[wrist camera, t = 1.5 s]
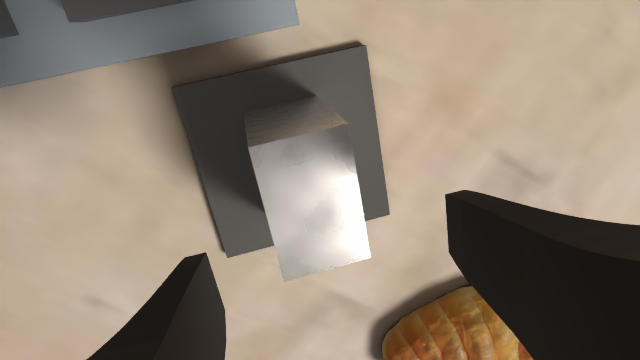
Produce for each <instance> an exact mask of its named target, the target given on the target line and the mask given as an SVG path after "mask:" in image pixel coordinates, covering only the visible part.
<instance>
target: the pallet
mask: <svg viewBox="0 0 640 360" xmlns="http://www.w3.org/2000/svg"><path fill="white" fill-rule="evenodd" d="M296 25H300V24H299V19H298V14H297V9H296V4H295V0H0V88H1V87H5V86H10V85H15V84H20V83H25V82H29V81H34V80H39V79H44V78H48V77H53V76H58V75H63V74H67V73H72V72H77V71H82V70H86V69H91V68H96V67H101V66H106V65H110V64H115V63H120V62H125V61H129V60H134V59H139V58H144V57H148V56H153V55H158V54H163V53H167V52H172V51H177V50H182V49H187V48H191V47H196V46H201V45H206V44H210V43H215V42H220V41H225V40H229V39H234V38H239V37H244V36H248V35H253V34H258V33H263V32H268V31H272V30H277V29H282V28H287V27H291V26H296Z"/></svg>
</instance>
